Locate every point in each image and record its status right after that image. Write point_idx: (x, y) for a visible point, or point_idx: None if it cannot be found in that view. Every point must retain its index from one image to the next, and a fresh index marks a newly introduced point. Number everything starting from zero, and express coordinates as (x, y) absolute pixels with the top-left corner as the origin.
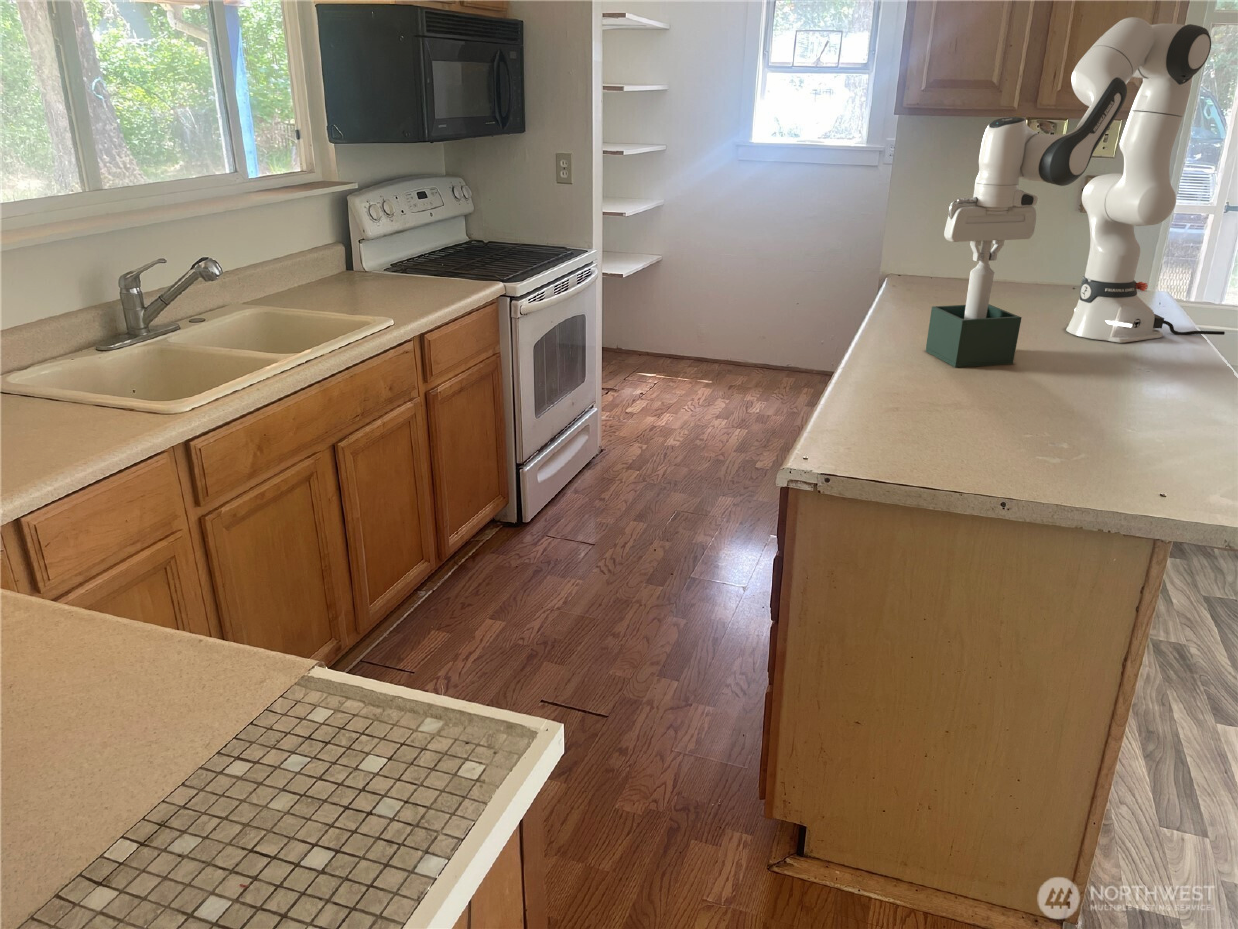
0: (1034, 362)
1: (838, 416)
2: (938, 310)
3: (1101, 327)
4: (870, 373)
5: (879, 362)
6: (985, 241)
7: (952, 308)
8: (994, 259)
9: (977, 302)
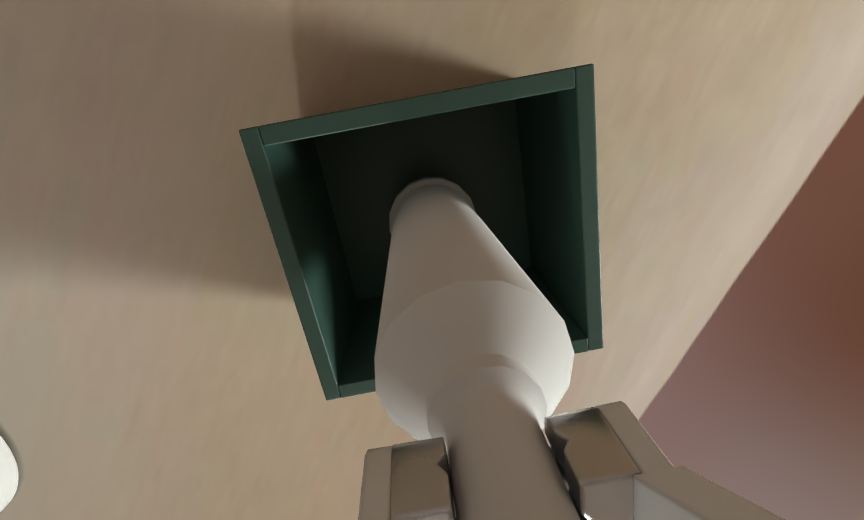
0: (215, 140)
1: None
2: (599, 291)
3: None
4: (834, 17)
5: (737, 149)
6: None
7: None
8: (390, 446)
9: (473, 221)
